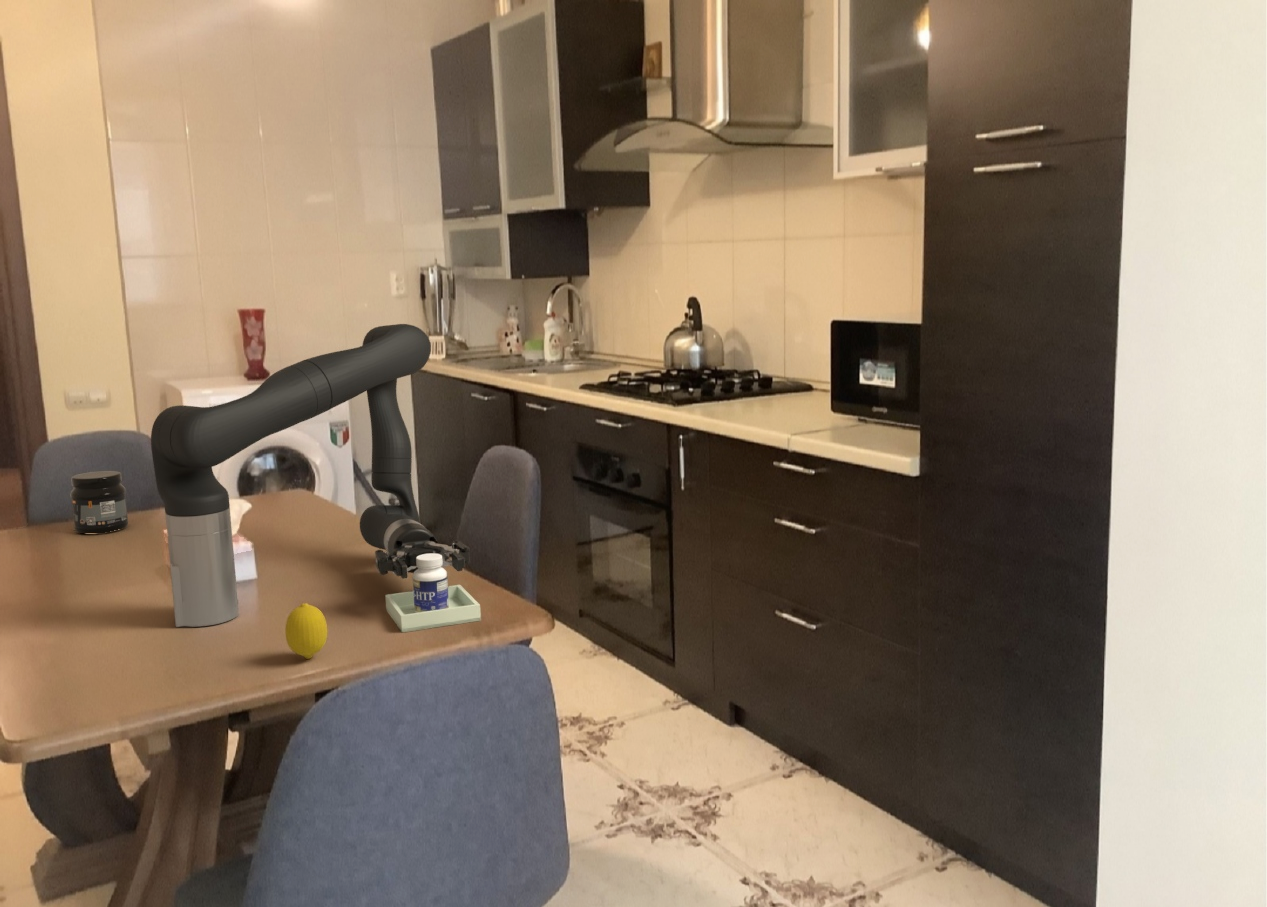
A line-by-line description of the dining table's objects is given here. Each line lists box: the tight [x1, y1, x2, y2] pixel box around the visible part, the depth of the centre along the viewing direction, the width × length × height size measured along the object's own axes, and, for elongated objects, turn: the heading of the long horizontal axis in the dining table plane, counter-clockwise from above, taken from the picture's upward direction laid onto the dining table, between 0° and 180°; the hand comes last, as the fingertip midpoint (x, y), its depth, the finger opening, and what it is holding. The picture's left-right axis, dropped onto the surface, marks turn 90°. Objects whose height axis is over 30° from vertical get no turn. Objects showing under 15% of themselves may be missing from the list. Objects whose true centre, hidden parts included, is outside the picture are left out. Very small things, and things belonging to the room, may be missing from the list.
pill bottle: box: [412, 553, 449, 613], centre depth 164 cm, size 5×5×9 cm
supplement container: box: [69, 470, 129, 534], centre depth 226 cm, size 10×10×12 cm
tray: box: [384, 584, 482, 633], centre depth 165 cm, size 12×12×2 cm
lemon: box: [284, 602, 328, 660], centre depth 146 cm, size 6×6×8 cm
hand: (432, 568), depth 162 cm, fingers open, 8 cm apart
